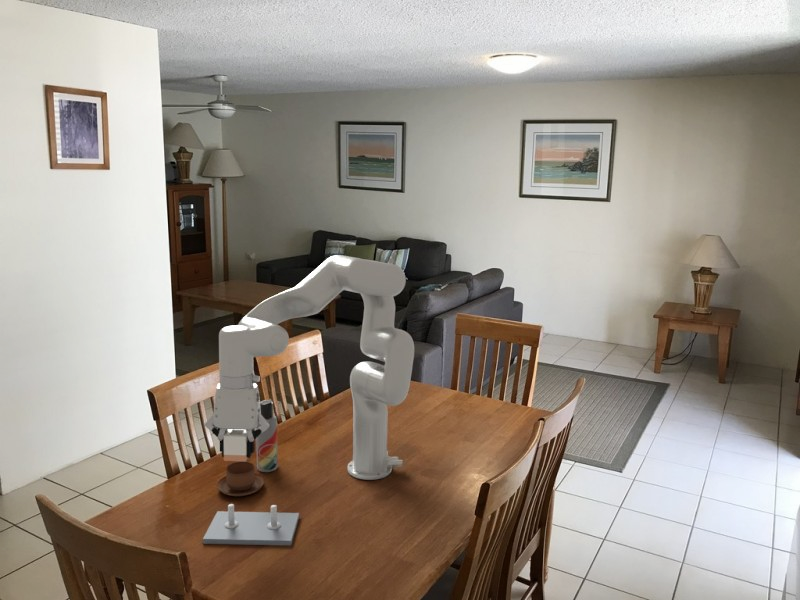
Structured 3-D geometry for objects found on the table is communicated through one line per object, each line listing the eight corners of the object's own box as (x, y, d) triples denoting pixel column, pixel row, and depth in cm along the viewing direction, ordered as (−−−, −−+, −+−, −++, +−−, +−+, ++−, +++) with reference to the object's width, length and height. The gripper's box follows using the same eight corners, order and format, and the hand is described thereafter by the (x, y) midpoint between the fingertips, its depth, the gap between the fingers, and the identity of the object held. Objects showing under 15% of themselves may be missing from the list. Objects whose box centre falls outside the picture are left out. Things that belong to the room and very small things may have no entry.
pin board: (299, 517, 161) (298, 494, 160) (291, 545, 150) (290, 520, 148) (217, 515, 161) (216, 492, 160) (203, 543, 150) (201, 518, 148)
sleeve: (250, 452, 156) (250, 428, 155) (245, 461, 151) (245, 436, 150) (229, 451, 156) (229, 427, 155) (223, 460, 151) (223, 436, 150)
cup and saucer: (214, 482, 178) (213, 461, 177) (259, 475, 183) (258, 454, 181) (221, 504, 167) (220, 481, 166) (268, 495, 172) (267, 474, 170)
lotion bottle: (272, 473, 183) (271, 405, 179) (253, 471, 185) (252, 403, 180) (280, 464, 189) (279, 398, 185) (262, 462, 190) (260, 396, 186)
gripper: (277, 376, 153) (277, 449, 157) (204, 373, 153) (205, 447, 157) (270, 386, 146) (270, 463, 150) (194, 384, 146) (195, 460, 150)
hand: (237, 454), depth 153 cm, fingers closed on sleeve, 5 cm apart
